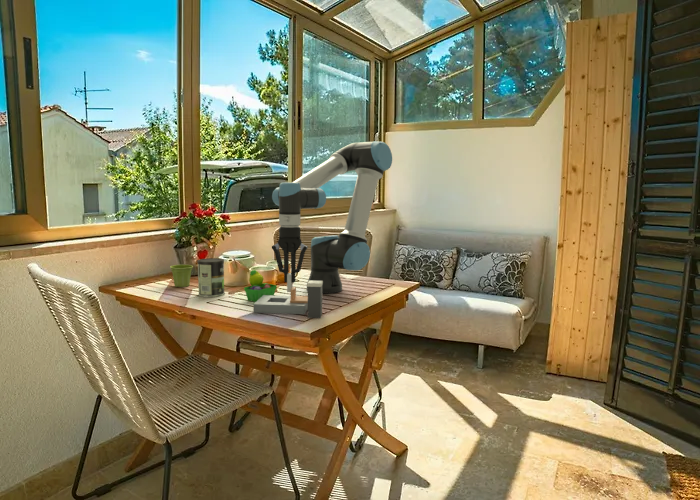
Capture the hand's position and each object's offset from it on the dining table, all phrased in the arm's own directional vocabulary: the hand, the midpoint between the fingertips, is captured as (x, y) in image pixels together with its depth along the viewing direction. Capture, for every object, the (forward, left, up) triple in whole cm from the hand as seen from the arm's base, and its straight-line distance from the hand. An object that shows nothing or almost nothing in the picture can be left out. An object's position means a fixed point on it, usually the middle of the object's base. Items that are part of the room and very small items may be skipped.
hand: (289, 291), depth 180 cm
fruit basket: (-13, -14, -7) cm, 21 cm away
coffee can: (-18, -35, -7) cm, 40 cm away
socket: (0, -2, -6) cm, 7 cm away
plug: (+9, +11, -6) cm, 15 cm away
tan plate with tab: (0, +4, -3) cm, 5 cm away
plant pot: (-32, -53, -7) cm, 63 cm away
